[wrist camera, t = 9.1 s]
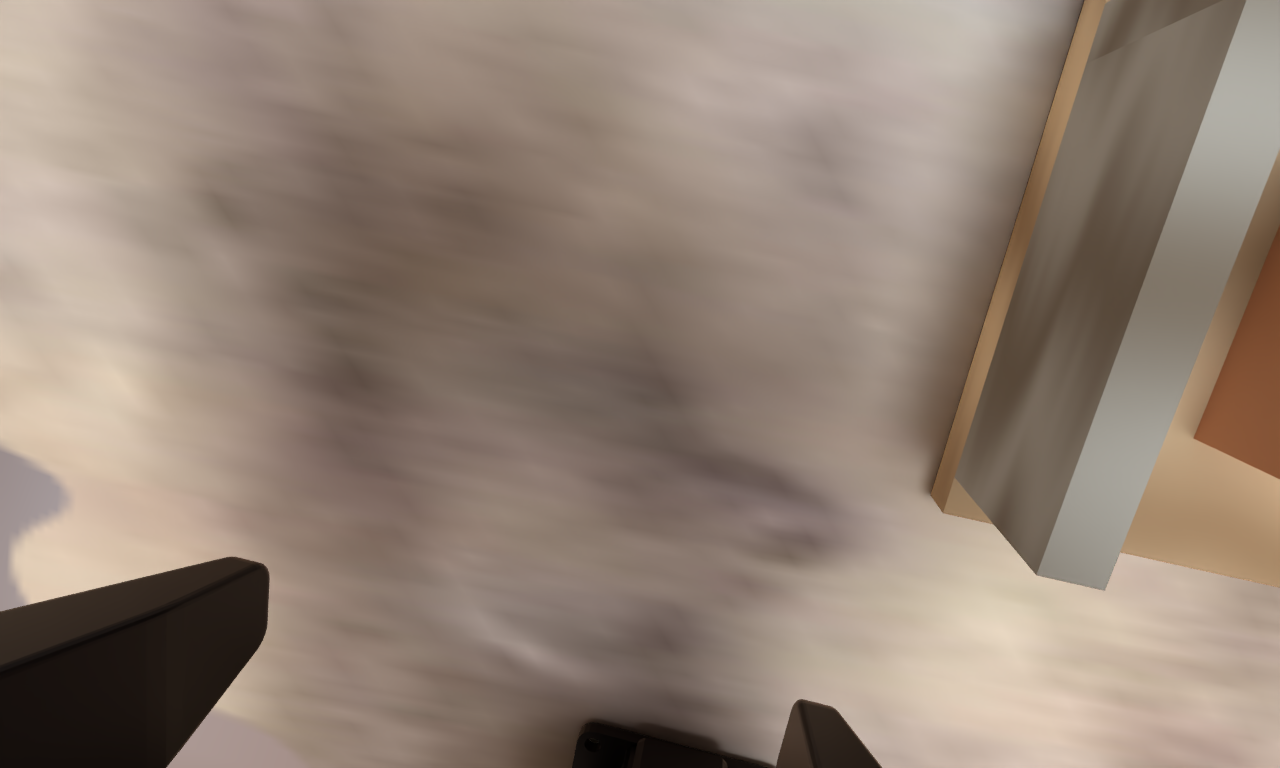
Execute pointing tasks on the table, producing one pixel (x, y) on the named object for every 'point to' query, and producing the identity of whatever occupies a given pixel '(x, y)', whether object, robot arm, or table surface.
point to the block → (1251, 380)
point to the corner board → (1130, 303)
